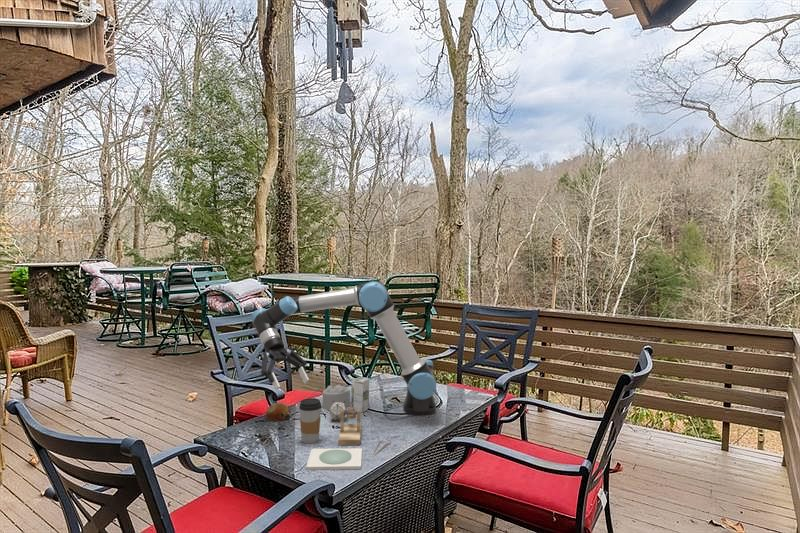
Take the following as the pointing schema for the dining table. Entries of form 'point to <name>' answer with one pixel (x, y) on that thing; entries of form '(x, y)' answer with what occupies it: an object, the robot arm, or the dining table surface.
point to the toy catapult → (350, 428)
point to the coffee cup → (310, 419)
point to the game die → (337, 410)
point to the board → (335, 459)
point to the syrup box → (360, 394)
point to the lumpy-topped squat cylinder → (335, 396)
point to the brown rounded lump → (277, 412)
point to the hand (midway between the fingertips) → (292, 385)
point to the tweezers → (380, 448)
